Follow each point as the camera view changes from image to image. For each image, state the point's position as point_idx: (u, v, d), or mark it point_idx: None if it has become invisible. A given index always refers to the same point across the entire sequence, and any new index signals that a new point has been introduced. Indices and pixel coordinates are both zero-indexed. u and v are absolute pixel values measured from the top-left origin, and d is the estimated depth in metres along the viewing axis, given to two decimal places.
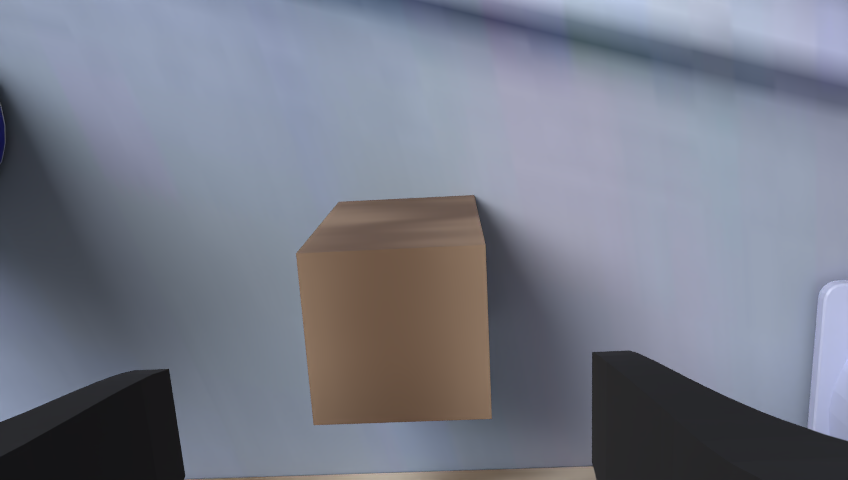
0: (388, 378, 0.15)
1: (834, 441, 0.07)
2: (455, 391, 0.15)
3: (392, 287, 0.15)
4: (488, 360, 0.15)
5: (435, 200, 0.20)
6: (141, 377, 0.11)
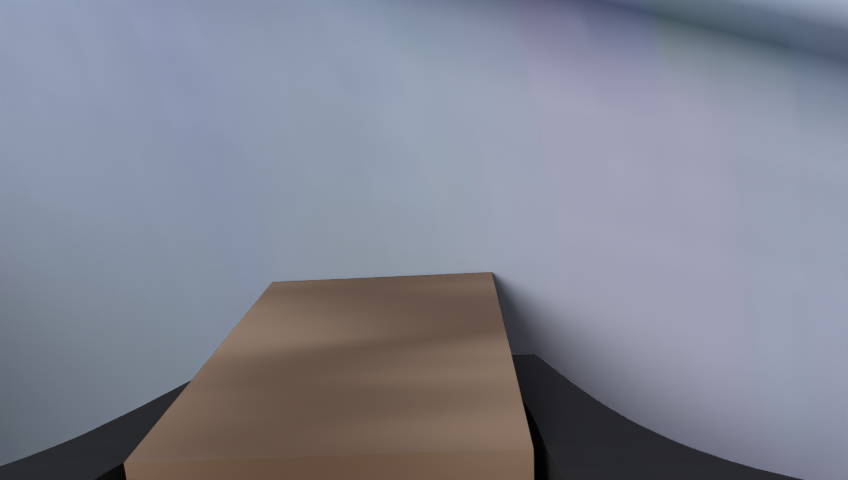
0: None
1: (674, 446, 0.07)
2: None
3: None
4: None
5: (428, 284, 0.12)
6: None
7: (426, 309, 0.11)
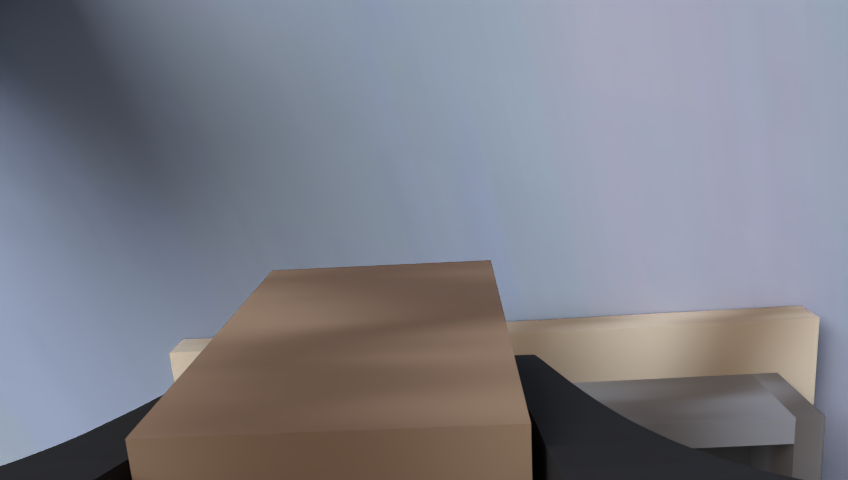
0: None
1: (674, 447, 0.07)
2: None
3: None
4: None
5: (427, 271, 0.12)
6: None
7: (425, 295, 0.11)
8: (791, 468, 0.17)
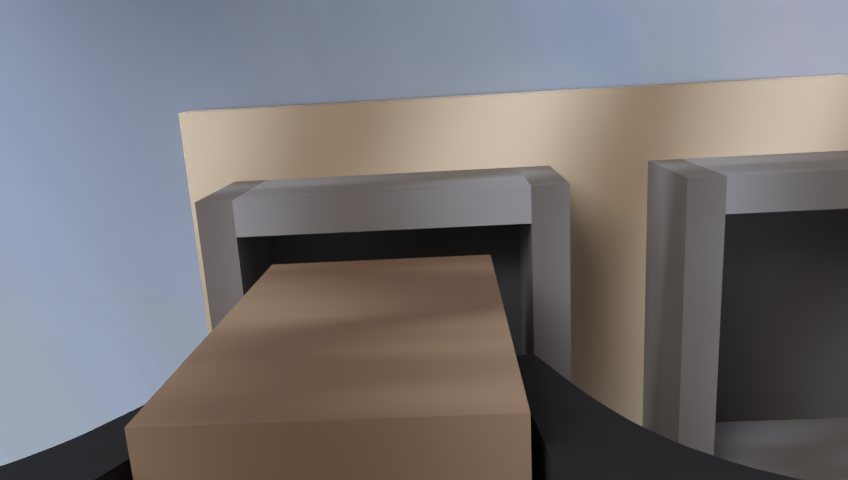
0: None
1: (674, 446, 0.07)
2: None
3: None
4: None
5: (427, 265, 0.12)
6: None
7: (425, 288, 0.11)
8: None
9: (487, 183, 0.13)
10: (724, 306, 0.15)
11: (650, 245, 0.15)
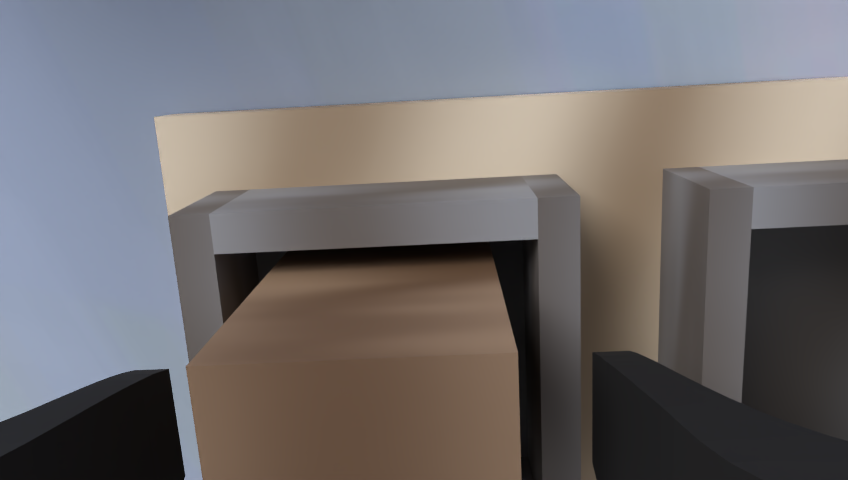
0: None
1: (834, 441, 0.07)
2: None
3: (355, 423, 0.08)
4: None
5: (431, 245, 0.13)
6: (141, 377, 0.11)
7: (429, 263, 0.12)
8: None
9: (489, 194, 0.12)
10: None
11: (665, 260, 0.14)
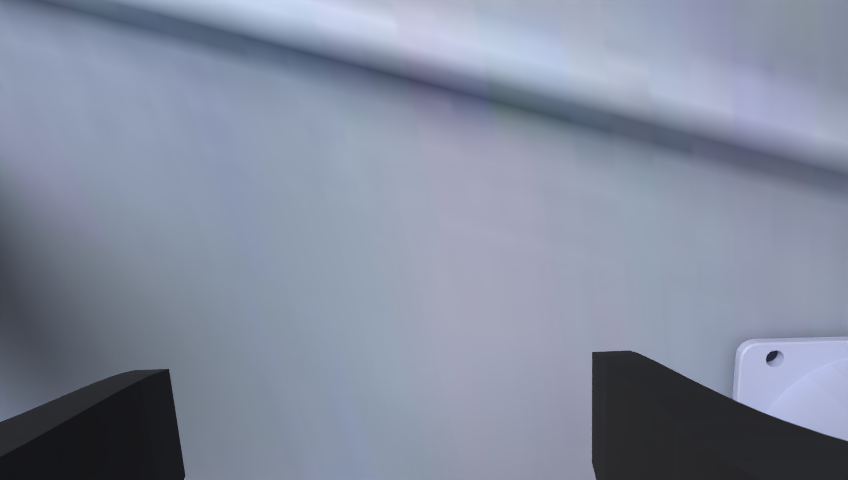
0: None
1: (834, 441, 0.07)
2: None
3: None
4: None
5: None
6: (141, 377, 0.11)
7: None
8: None
9: None
10: None
11: None
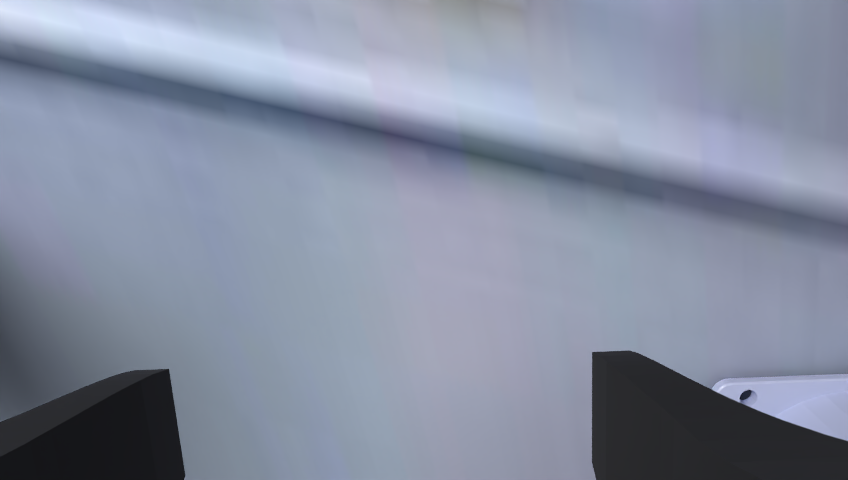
0: None
1: (834, 441, 0.07)
2: None
3: None
4: None
5: None
6: (141, 377, 0.11)
7: None
8: None
9: None
10: None
11: None
